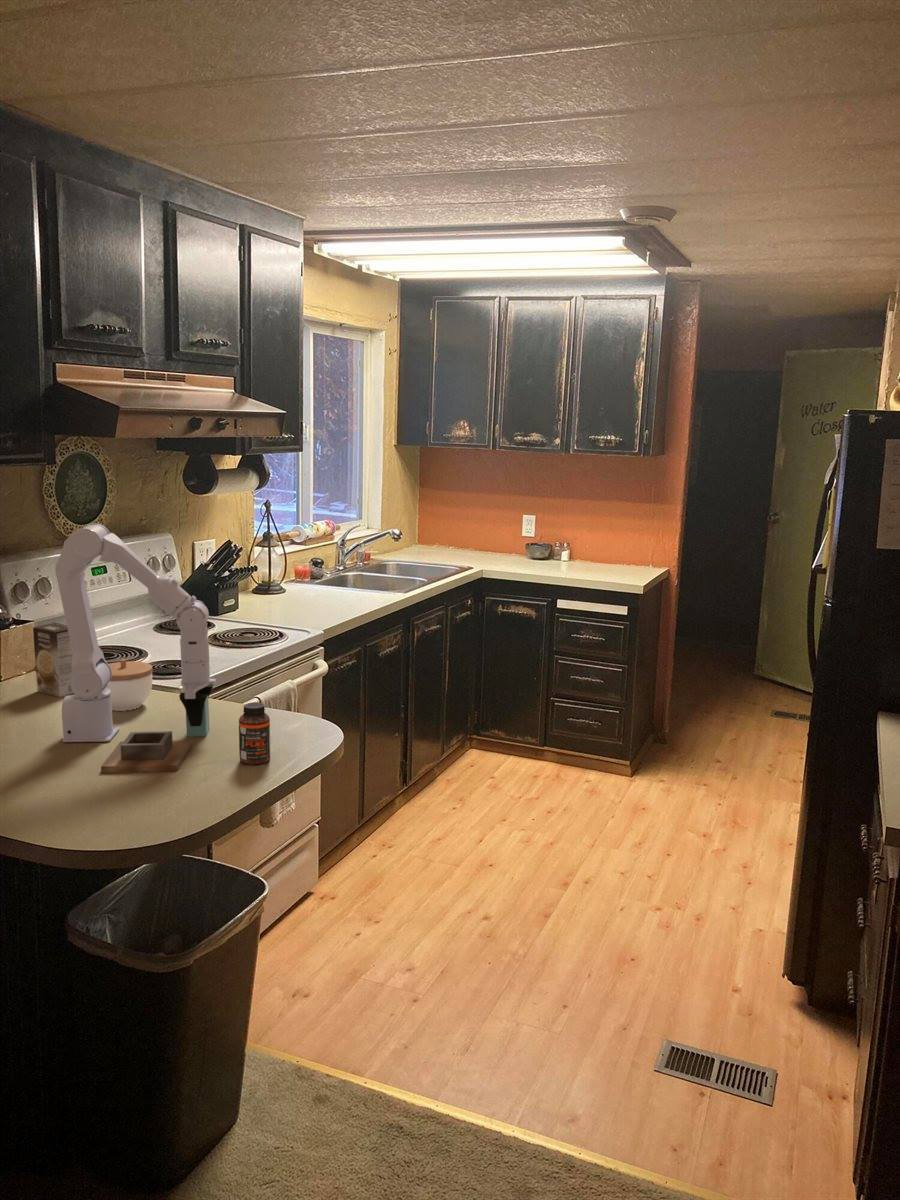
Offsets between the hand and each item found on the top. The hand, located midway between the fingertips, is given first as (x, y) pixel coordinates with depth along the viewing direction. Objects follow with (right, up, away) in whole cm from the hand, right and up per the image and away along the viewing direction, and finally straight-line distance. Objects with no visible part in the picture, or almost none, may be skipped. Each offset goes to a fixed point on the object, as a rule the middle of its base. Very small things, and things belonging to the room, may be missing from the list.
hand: (197, 722), depth 203 cm
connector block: (0, -2, 0) cm, 2 cm away
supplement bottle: (+15, -6, -15) cm, 22 cm away
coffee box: (-41, +3, +30) cm, 51 cm away
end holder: (-6, -5, -15) cm, 17 cm away
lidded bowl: (-21, +1, +19) cm, 28 cm away
